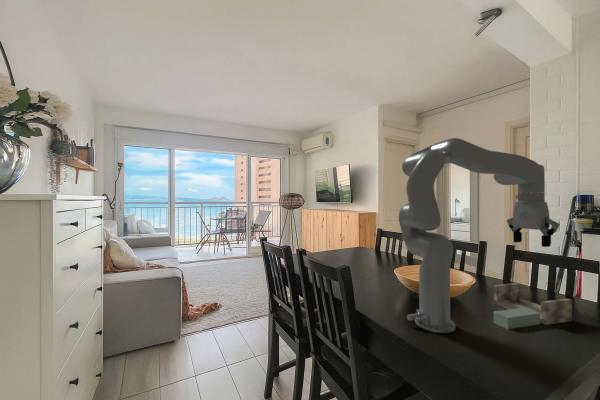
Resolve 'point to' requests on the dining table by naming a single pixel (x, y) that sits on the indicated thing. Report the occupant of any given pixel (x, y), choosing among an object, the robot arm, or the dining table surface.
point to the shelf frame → (533, 304)
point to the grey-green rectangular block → (516, 318)
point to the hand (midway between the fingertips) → (531, 244)
